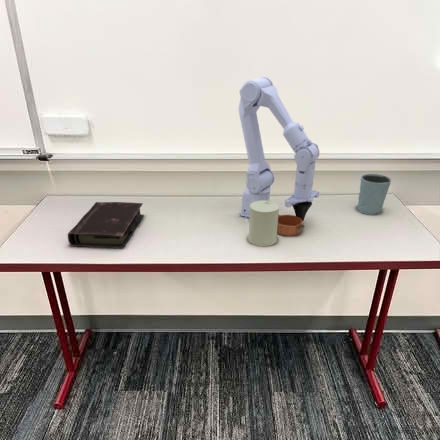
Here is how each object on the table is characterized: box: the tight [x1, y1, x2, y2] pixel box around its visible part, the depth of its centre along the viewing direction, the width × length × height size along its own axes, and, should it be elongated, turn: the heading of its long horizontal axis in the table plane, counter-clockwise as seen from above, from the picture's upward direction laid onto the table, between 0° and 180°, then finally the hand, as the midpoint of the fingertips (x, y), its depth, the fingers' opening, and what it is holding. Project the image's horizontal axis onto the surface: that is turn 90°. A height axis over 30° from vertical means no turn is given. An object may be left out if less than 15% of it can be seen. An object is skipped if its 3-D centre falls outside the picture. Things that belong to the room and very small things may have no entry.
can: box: [247, 200, 280, 247], centre depth 133 cm, size 9×9×12 cm
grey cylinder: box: [356, 173, 392, 216], centre depth 153 cm, size 10×10×12 cm
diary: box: [67, 201, 145, 249], centre depth 141 cm, size 19×25×5 cm
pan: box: [277, 213, 305, 237], centre depth 141 cm, size 9×12×4 cm
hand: (299, 221), depth 144 cm, fingers closed
